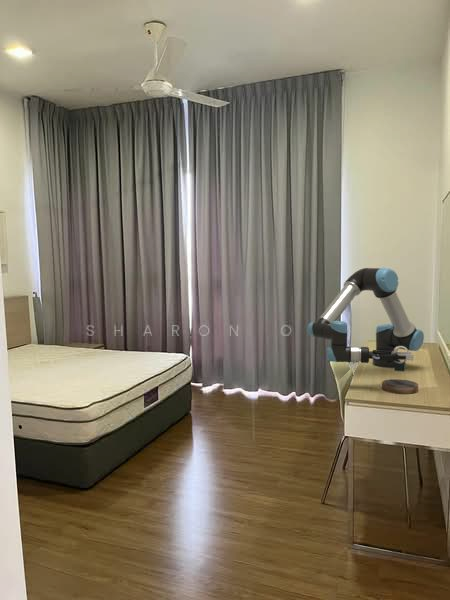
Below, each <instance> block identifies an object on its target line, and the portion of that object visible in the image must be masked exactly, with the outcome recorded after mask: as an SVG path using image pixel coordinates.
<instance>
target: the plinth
mask: <svg viewBox="0 0 450 600" xmlns="http://www.w3.org/2000/svg"><path fill="white" fill-rule="evenodd" d="M381 389H382V390H383V391H384V392H387V393H391V394H397V395H412V394H416V393H418V392H419V384H418V382H416V381H415V382H414V381H413V380H412V381H411V380H407V379H400V378H399V379H398V378H397V379H396V378H395V379H394V378H393V379H386V380H385V379H384V380H383V381H382V382H381Z"/></svg>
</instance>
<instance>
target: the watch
mask: <svg viewBox="0 0 450 600" xmlns="http://www.w3.org/2000/svg"><path fill="white" fill-rule="evenodd" d="M400 347H401V348H404V349H405V351H406V352H408V354H409V352H410V350H408V349H407V348H406V347H404V346H398V347H397V346H396V347H395V349H394V350H393V352H392V353H391V354H396V352H399V348H400ZM404 349H403V350H404ZM407 361H408V360H402V361H401V362H399V361H398V362H397V361H394V362H395V367H394V371H395V372H405V370H406V362H407Z"/></svg>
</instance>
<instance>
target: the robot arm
mask: <svg viewBox="0 0 450 600" xmlns="http://www.w3.org/2000/svg"><path fill="white" fill-rule="evenodd" d="M398 287H399V277H398V274H397V272H396V271H395V270H393V269H392V268H386V267H382V268H381V267H380V268H379V267H377V268H376V267H375V268H374V267H373V268H372V267H364V268H361V269H359V270H357V271H355V272H354V273H353V274H351V275H350V276H349V277H348V278H347V279H346V280H345V281H344V283H343V288H342V289H340V291H339V292H338V294H337V295H336V296H335V297H334V299H332V301H331V302H330V304H329V305H328V307H327V308H326V309H325V310H324V311H323V313H322V314H321V316H319V318H318V319H317V320H316V321H311V322H310V323H309V324H308V325H307V329H306V330H307V334H308V335H309V336H310V337H312V338H316V339H322V340H329V341H330V345H328V346H327V347H326V348H327V349H326V360H327V361H328V362H333V363H352V364H355V363H363V364H368V363H370V360H371V359H372V365H374V366H377V367H382V368H395V362H394V361H397V362H398V361H399V362H402V361H404V360H407V361H414V354H412V352H417V351H418V350H419V351H420V349H421V348H422V346H423V343H424V340H425V338H424V337H425V335H424V332H423V331H422V329H417V328H416V326H415V324H414V323H413V322H411V321H410V320H409V318H408V315H407V313H406V311H405V308H404V307H403V305H402V302H401V300H400V297H399V296H398V293H397V289H398ZM363 291H370V292H371V291H372V292H373V295H374V297H375V298H376V299H379V300H380V301H381V304H382V307H383V308H384V310H385V312H386V314H387V316H388V319H389V320H390V323H388V324H380V325H377V326H376V329H375V330H376V331H375V345H376V346H375V349H373V350H372V351H370V349H369V348H370V347H368V346H361V347H360V346H348V332H349V331H348V330H349V329H348V323H347V322H346V321H344V320H341V321H340V320H339V318H340V317H341V316H342V314H344V313H343V312H344V311H345V310H346V309H347V308H348V306H349V305H350V304H351V303H352V301H353V300H354V298H355V297H356V296H359V295H360V294H361V293H362V292H363ZM396 346H397V347H398V346H404V347H406V348H407V349H408V351H409V354H408V352H407V351H406V350H405V349H404V348H401V347H400V348H399V349H400V350H405V351H397V352H396V354H391V353H392V352H393V350H394V349H395V347H396ZM399 349H398V350H399Z"/></svg>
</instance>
